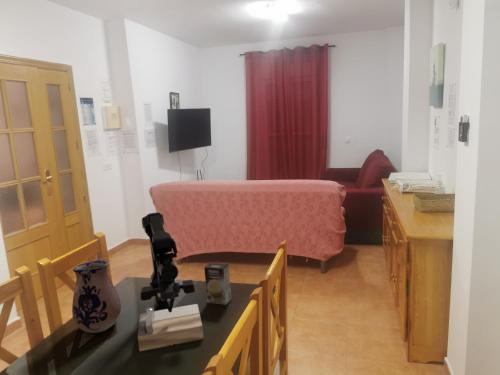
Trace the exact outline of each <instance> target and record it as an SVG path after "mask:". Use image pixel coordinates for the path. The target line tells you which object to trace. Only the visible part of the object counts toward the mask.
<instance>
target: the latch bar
mask: <svg viewBox="0 0 500 375" xmlns="http://www.w3.org/2000/svg"><path fill="white" fill-rule="evenodd" d="M154 308H155V307H154V306H153V307H151V306H150V307H147V308H146V309H144V310H145V313H146V328H147V334H150V333H153V317H154V316H155V315H154V311H155V310H154Z"/></svg>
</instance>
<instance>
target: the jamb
mask: <svg viewBox="0 0 500 375" xmlns="http://www.w3.org/2000/svg"><path fill="white" fill-rule="evenodd" d="M194 314H200V309H199V304H198V303H196V304H195V303H194V304H188V305H183V306H176V307H173V308H172V312H170V313H169V311H168V309H162V310H156V311H155V310H154V315H155V316H154V317H153V322H155V321H161V320H166V319H172V318H178V317H183V316H189V315H194ZM142 320H145V323H146V312H142V313H140V314H139V321H142Z"/></svg>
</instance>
